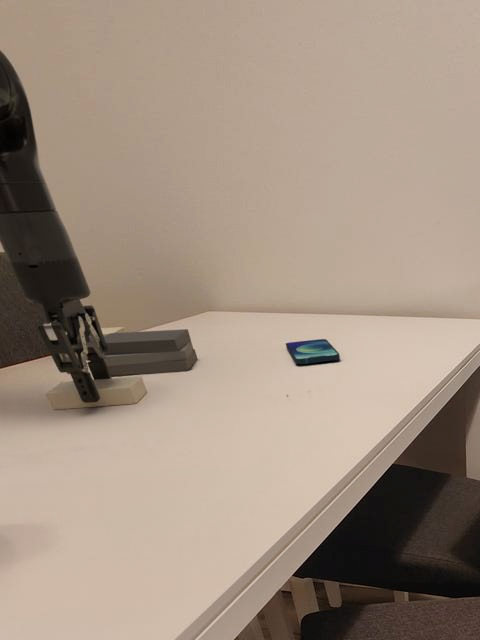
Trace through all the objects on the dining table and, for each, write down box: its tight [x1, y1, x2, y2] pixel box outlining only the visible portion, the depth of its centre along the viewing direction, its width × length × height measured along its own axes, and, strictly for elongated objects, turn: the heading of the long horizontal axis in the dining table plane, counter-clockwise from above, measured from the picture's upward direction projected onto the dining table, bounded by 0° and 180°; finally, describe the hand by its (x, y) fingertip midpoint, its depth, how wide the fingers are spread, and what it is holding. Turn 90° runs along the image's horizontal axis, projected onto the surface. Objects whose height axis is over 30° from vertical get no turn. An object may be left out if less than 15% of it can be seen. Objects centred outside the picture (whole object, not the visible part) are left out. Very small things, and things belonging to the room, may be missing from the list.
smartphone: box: [285, 338, 341, 365], centre depth 103 cm, size 8×1×15 cm
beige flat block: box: [45, 376, 148, 411], centre depth 84 cm, size 11×6×2 cm, turn 101°
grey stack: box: [104, 328, 198, 377], centre depth 98 cm, size 14×9×5 cm
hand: (99, 394), depth 84 cm, fingers closed on beige flat block, 6 cm apart
